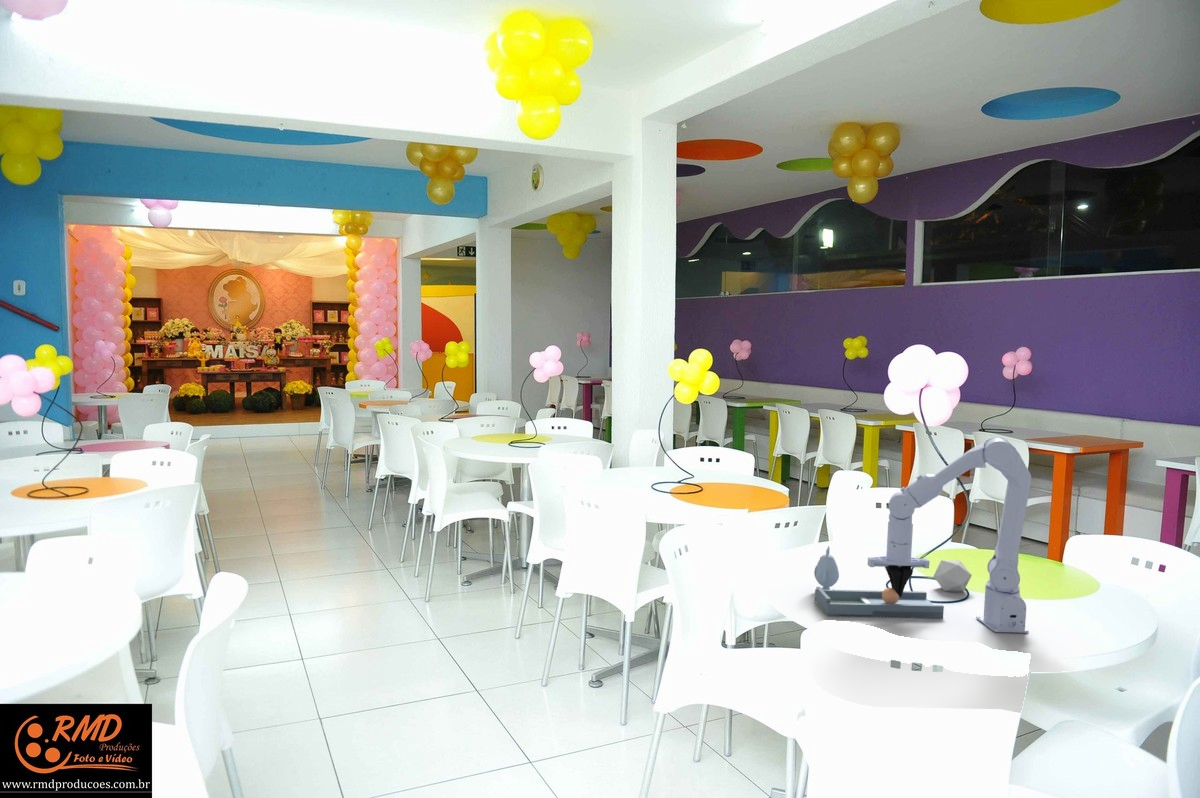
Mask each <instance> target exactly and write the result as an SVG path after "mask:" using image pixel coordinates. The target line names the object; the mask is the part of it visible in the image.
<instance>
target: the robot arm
mask: <svg viewBox="0 0 1200 798" xmlns="http://www.w3.org/2000/svg"><path fill="white" fill-rule="evenodd" d="M986 463H987V464H988V465H990V466H991V467H992V468H994V469H996V470H997V471H999V472H1000V473H1001V474H1002V475H1003V477H1004V478H1005V479H1006V480H1007V485H1006V490H1005V497H1004V502H1003V506H1002V507H1003V508H1002V514H1001V520H1000V524H999V525H1000V526H999V530H998V535H997V536H998V537H997V541H996V546H995V548H994V553H993V555H992V557H991V559H989V561H988V562H987V566H986V567H987V572H988V574H989V579H988V580H987V581H986V582H985V587H984V589H985V591H984V601H983V602H984V605H983V615H976V616H975V618H976V619H977V620H978V621H980V623H982V624H984V625H985V626H986V627H987V628H989V629H990V630H992V631H993V632H995V633H1022V634H1023V633H1024V634H1028V633H1029V632H1030V631H1029V629H1027V628H1026V619H1027V603H1026V602H1025V601H1024V600H1025V599H1023V598H1022V596H1021V594H1020V593H1021V590H1020V589H1021V587H1020V586H1019V585H1020V582H1021V577H1020V573H1019V569H1018V568H1019V552H1020V544H1021V539H1022V534H1023V529H1024V522H1025V518H1026V513H1027V507H1028V501H1029V494H1030V490H1031V489H1030V488H1031V483H1032V474H1031V473H1030V471H1029V468H1028V467H1027V465H1026V463H1025V461H1024V459H1023V458H1022V455H1021V454H1020V452H1019V451H1018V449H1016V447H1015V446H1014V445H1013V444H1012V443H1010V442H1009V441H1008V440H1007V439H1005V438H1003V437H999V436H995V437H994V436H993V437H990V438H988V439H987V440H986V441H985V442H984V443H983V442H982V443H980V444H977V445H976V446H974V447H972V448H971V449H969V450H967V451H966V452H964V453H963V454H961V456H958V457H957V458H956V459H954V460H953V461H952V462H950V463H949V464H948V465H946V466H945V467H944V468H942V469H941V470H939V471H938V472H937V473H935V474H932V473H925V474H924V475H923V474H919V475H917V477H916V480H915V481H913V482H912V483H910V484H909V485H907V486H906V487H904V486H902V487H901V488H900V492H899V491H897V492H895V493H894V494H893V495H891V497H890V499H889V501H888V511H889V514H888V520H889V521H888V523H887V536H886V554H885V556H873V557H871V556H869V557H867V566H868V567H869V568H874V567H879V568H880V567H881V568H885V571H886V573H887V575H888V577H889V582H890V585H891V586H890V587H891V588H893V589H895V592H896V593H897V594H898V595H899V597H902V593H903V591H904V589H905V587H906V585H907V583H908V581H909V579H910V578H911V577H912V575H913V572H914V571H913V568H924V569H930V560H929V559H928V558H921V557H912V549H913V548H912V547H913V546H912V545H913V530H914V529H913V527H914V524H913V514H914V513H915V509H921V507H923V506H925V505H926V504H928V503H929V502H931V501H933V500H934V499H935V498H937V497H938V496H940V495H941V494H942V493H943V490H944V486H945V485H947V484H948V483H950V482H951V481H953V480H955V479H957V478H958V477H960V476H961V475H963V474H965V473H966V472H968V471H970V470H971V469H975V468H982V469H983V468H987V465H986Z"/></svg>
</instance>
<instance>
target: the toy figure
mask: <svg viewBox="0 0 1200 798" xmlns="http://www.w3.org/2000/svg"><path fill="white" fill-rule="evenodd" d="M830 548H831V547H830V546H829V545H828V546H827V548H826V551H825V554H823V555H821V556H820V557H819V560H818V562H817V564H816V566H815V567H814V573H813V574H814V578H815V579H816V581H817V583H818V584H819V586H820V587H821V586H822V587H821V588H822V589H823V590H831V589H830V588H831V587H833V586H834V585H835V584H836V583H837V582H838V581H839V577H840V573H839V567H838V564H837V562H836V559H835V557H834V556H833V555H831V554H830Z"/></svg>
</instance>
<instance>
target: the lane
mask: <svg viewBox="0 0 1200 798" xmlns="http://www.w3.org/2000/svg"><path fill="white" fill-rule="evenodd" d="M883 591H884V590H869V589H868V590H866V589H865V590H863V589H861V590H860V589H859V590H858V589H857V590H856V589H830V590H823V589H822V587H821V586H816V587H815V589H814V602H815V601H816V602H817V603H816V602H815V603H816V605H817V604H818V605H819V606H818V605H817V606H818V607H819V608H820V610H821V611H822V612H823V613H824V615H825V616H826V615H827V616H826V617H840V616H841V618H842V617H843V618H844V617H846V618H848V617H850V618H851V617H852V618H858V617H859V618H895V619H896V618H899V619H902V618H903V619H904V618H905V619H907V618H908V619H909V618H910V619H944V612H945V611H944V610H945V606H944V605H943V604H934V603H933V602H931V601H930V600H929V599H928V598H927V594H928V593H927V592H926V591H921V590H920V591H915V590H914V591H913V590H912V591H910V590H909V591H907V590H905V591H904V590H903V593H902V597H899V600H898V602H897V603H895V604H887V603H885V602H884V600H883V599H882V593H883ZM911 617H913V618H911Z"/></svg>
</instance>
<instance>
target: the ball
mask: <svg viewBox="0 0 1200 798" xmlns="http://www.w3.org/2000/svg"><path fill="white" fill-rule="evenodd" d="M882 591H883V593H882V599H883V600H884V602H885V603H887V604H895V603H897V602H898V600H899V595H898V594H897V593H896V592H895V589H893V588H892V587H887V588H885V589H884V590H882Z"/></svg>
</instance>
